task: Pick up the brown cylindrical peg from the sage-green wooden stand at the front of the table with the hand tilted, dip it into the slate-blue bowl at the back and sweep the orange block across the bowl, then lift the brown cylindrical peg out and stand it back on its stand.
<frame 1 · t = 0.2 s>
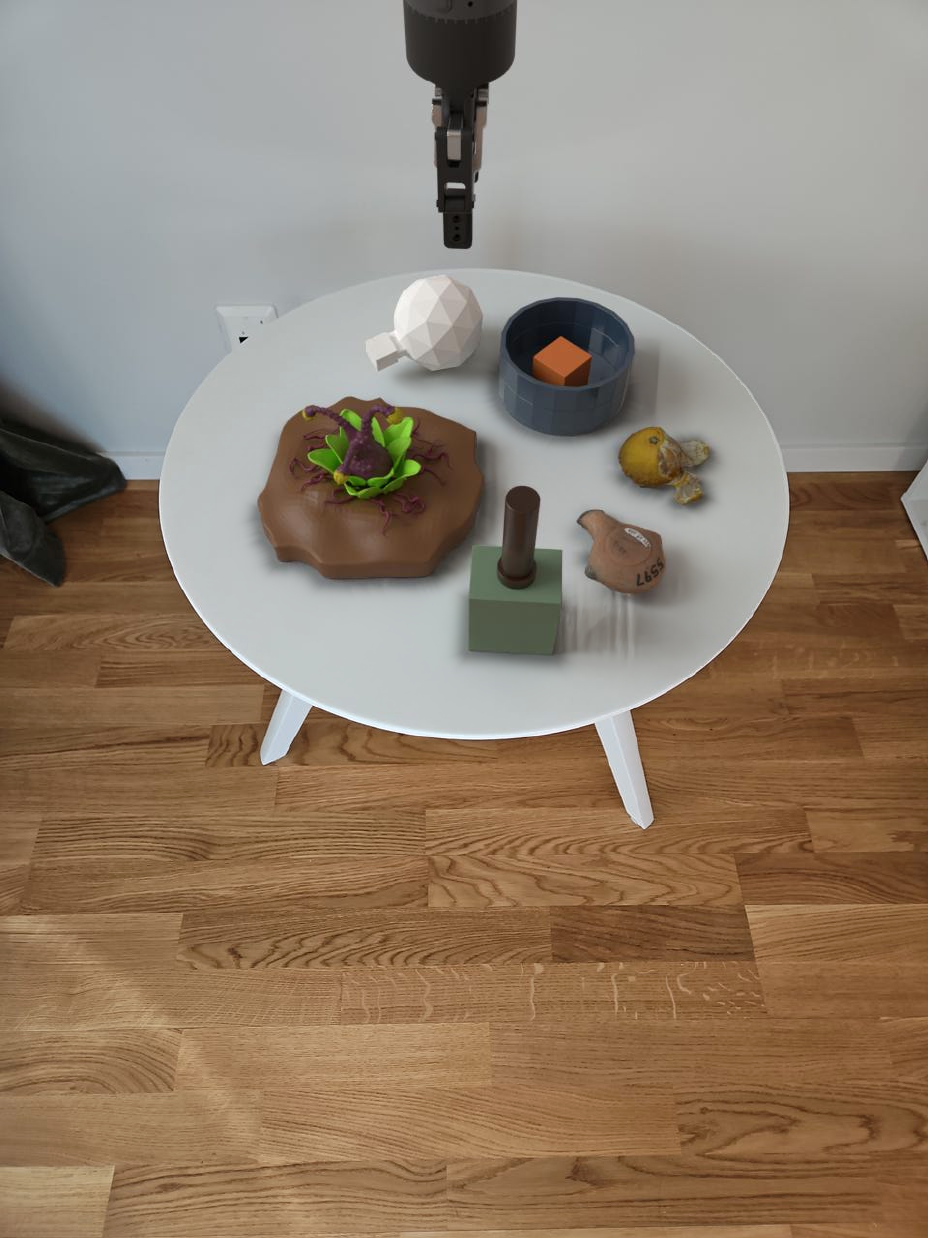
hand: (461, 212, 72), 20 cm above the table, tool pointing down, fingers open, 8 cm apart
block: (559, 387, 89), point 1 cm above the table, touching bowl
stand: (511, 627, 75), on the table
fruit: (667, 476, 84), on the table
plant: (375, 495, 83), on the table
perfume bottle: (425, 359, 92), on the table
oil lamp: (616, 560, 79), on the table
bowl: (561, 388, 90), on the table
brown cylindrical peg: (516, 573, 69), point 8 cm above the table, touching stand
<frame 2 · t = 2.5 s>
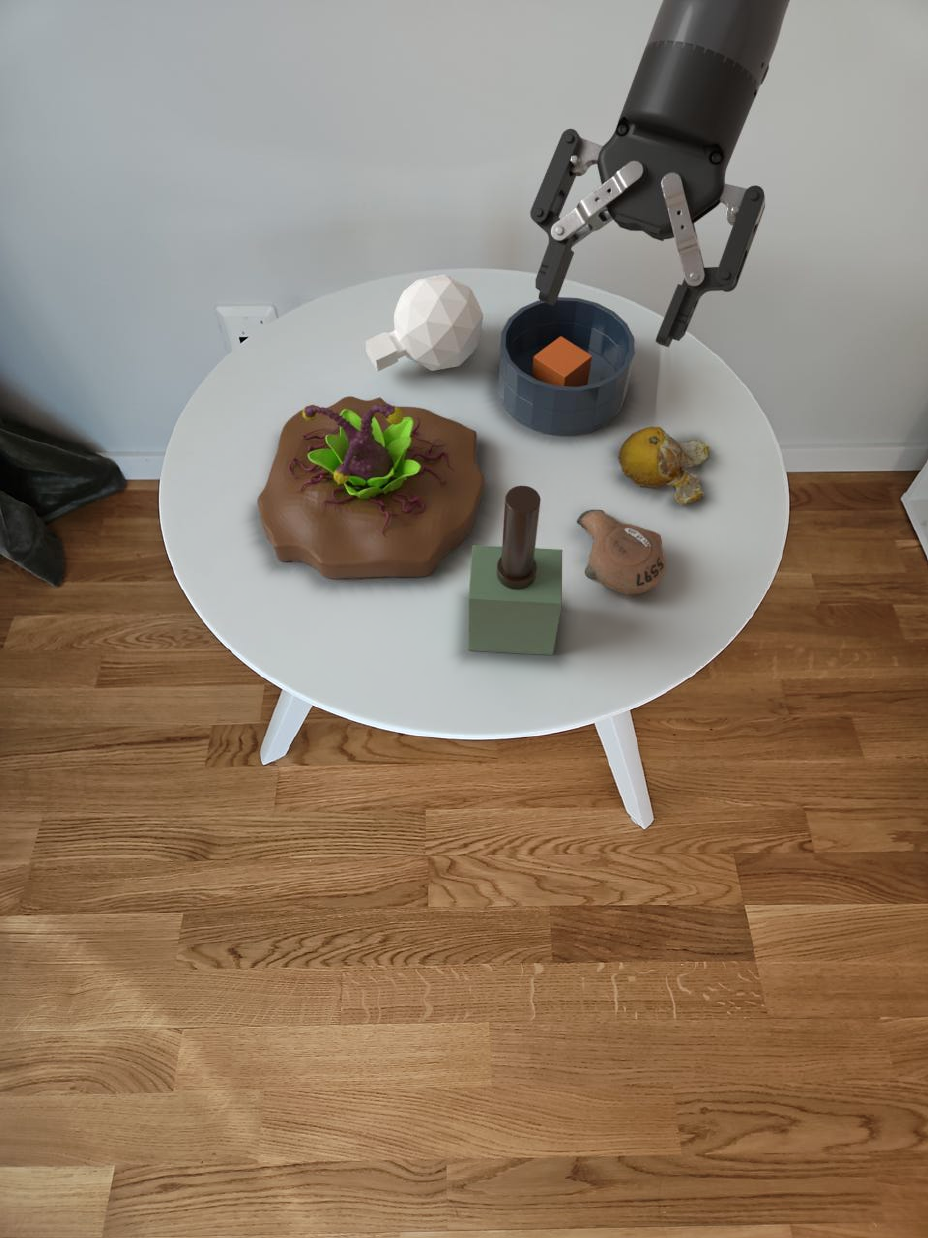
hand: (603, 323, 61), 23 cm above the table, tool tilted 45°, fingers open, 8 cm apart
nothing on the table moved.
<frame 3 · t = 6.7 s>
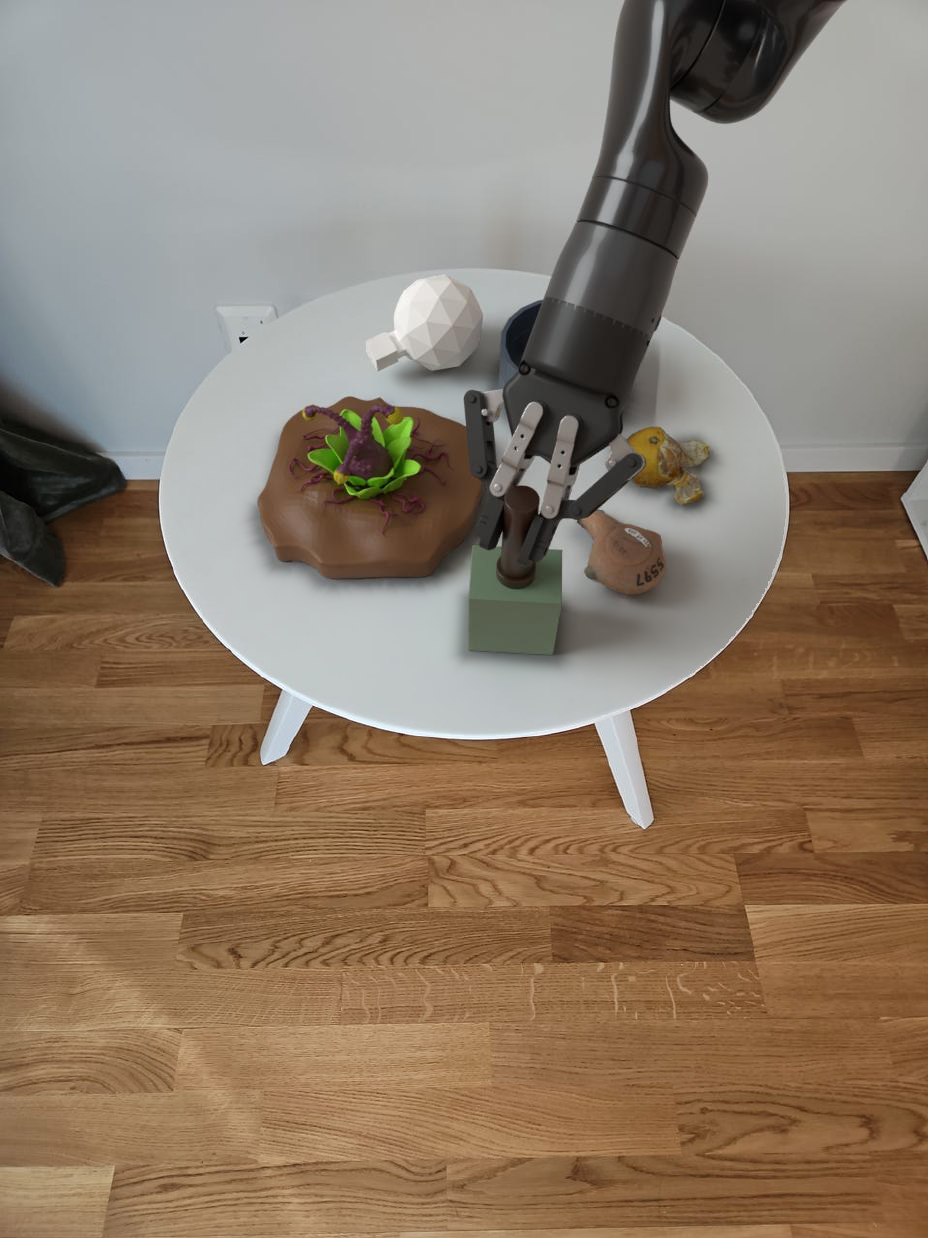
hand: (506, 555, 63), 13 cm above the table, tool tilted 45°, fingers closed on brown cylindrical peg, 2 cm apart
brown cylindrical peg: (515, 573, 69), point 8 cm above the table, touching gripper, stand
everything else where it was.
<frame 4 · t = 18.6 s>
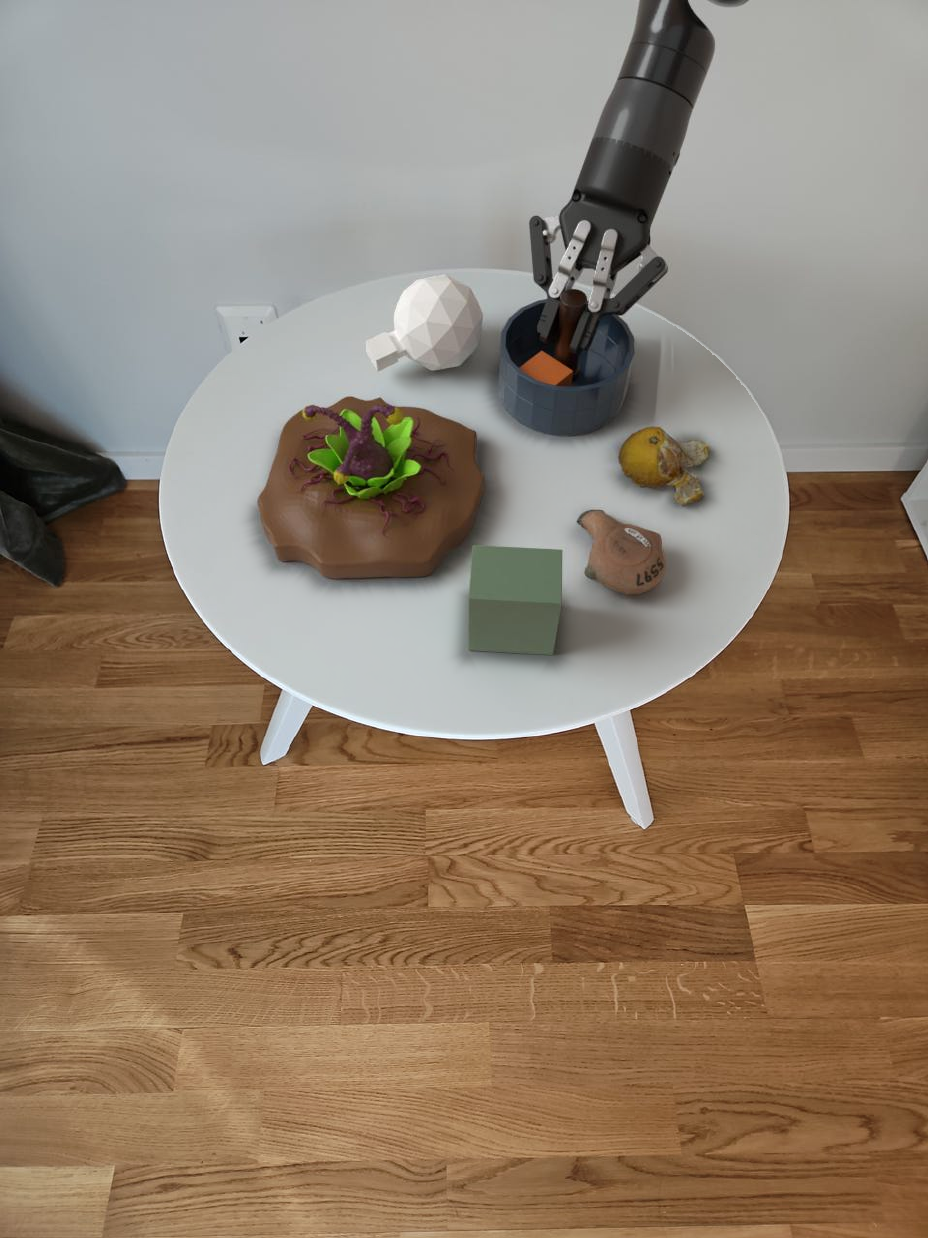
hand: (560, 346, 83), 7 cm above the table, tool tilted 45°, fingers closed on brown cylindrical peg, 2 cm apart
block: (540, 401, 88), point 1 cm above the table, touching bowl, brown cylindrical peg
brown cylindrical peg: (564, 372, 88), point 2 cm above the table, touching block, gripper
everything else where it was.
when the fingers open (13 cm above the table, at t = 28.4 s): brown cylindrical peg stays where it is, resting on stand.
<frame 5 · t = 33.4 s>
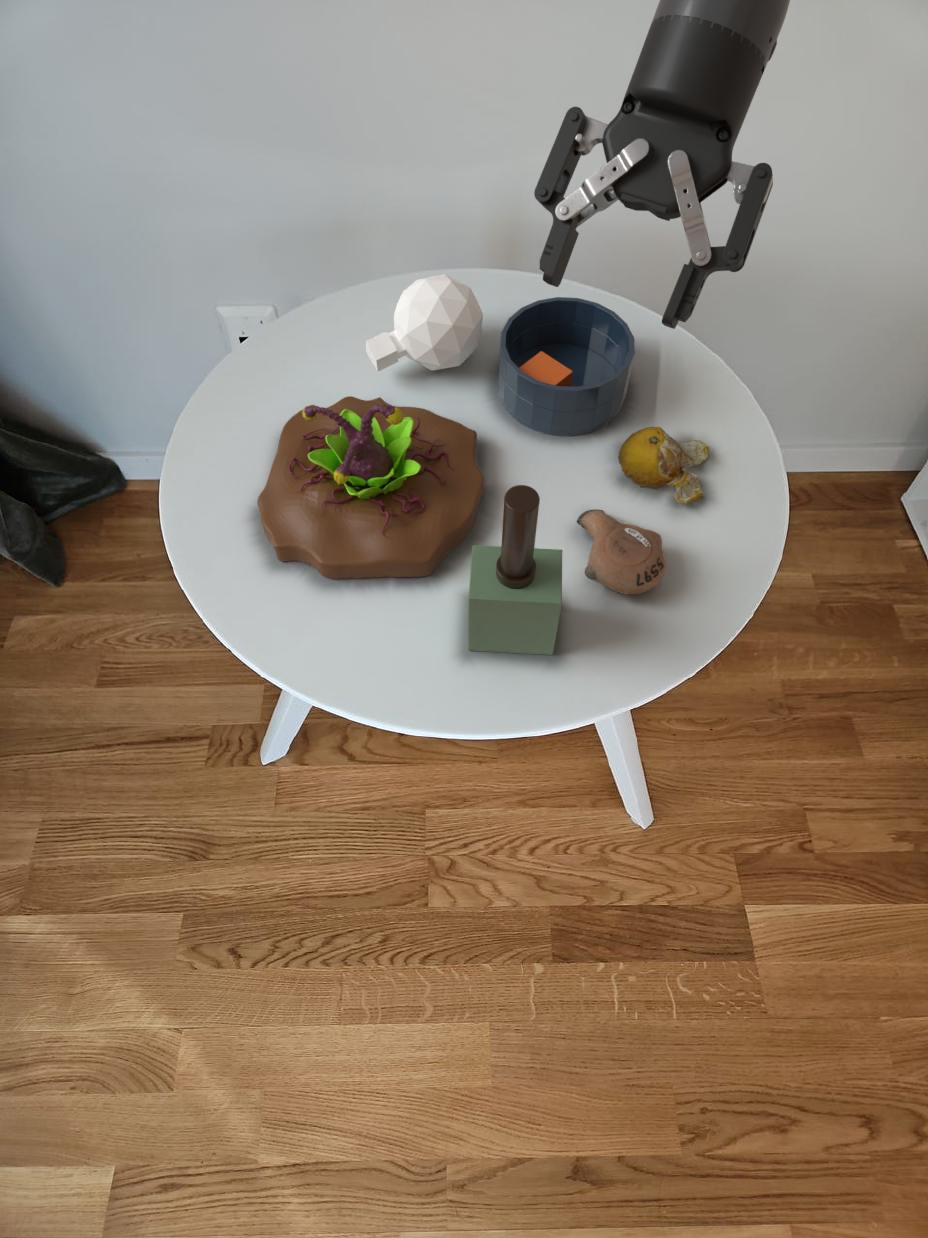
hand: (608, 304, 60), 25 cm above the table, tool tilted 45°, fingers open, 8 cm apart
block: (540, 402, 88), point 1 cm above the table, touching bowl
brown cylindrical peg: (515, 572, 69), point 8 cm above the table, touching stand
everything else where it was.
at the end: block moved 2.9 cm from its start; block inside the target area in the bowl (3.3 cm from its centre), point 0.6 cm above the bowl's base; brown cylindrical peg touching stand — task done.
